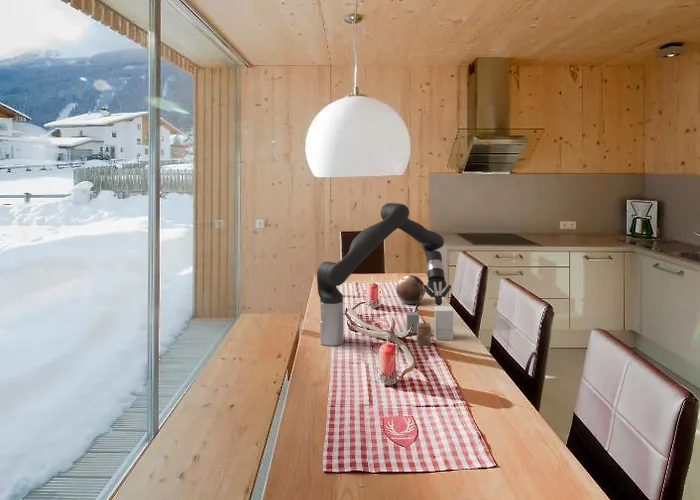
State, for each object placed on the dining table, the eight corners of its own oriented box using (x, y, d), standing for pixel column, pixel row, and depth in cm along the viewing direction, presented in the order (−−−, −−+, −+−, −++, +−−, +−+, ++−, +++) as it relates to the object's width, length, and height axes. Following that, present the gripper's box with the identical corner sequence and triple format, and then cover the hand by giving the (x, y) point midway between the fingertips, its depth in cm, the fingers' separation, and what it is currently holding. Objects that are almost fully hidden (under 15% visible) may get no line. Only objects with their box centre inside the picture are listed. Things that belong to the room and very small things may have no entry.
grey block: (407, 333, 228) (407, 314, 227) (406, 329, 233) (406, 311, 232) (419, 332, 228) (419, 314, 227) (417, 329, 233) (418, 311, 231)
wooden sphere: (390, 302, 281) (390, 274, 278) (414, 298, 288) (414, 271, 285) (406, 308, 268) (406, 279, 265) (430, 304, 275) (431, 276, 272)
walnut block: (418, 345, 211) (418, 326, 210) (416, 341, 216) (417, 322, 215) (430, 345, 211) (430, 326, 210) (429, 341, 216) (429, 322, 215)
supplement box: (451, 334, 224) (451, 305, 222) (453, 340, 217) (453, 310, 215) (433, 334, 225) (434, 305, 223) (434, 340, 218) (435, 310, 216)
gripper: (421, 267, 240) (424, 300, 230) (451, 267, 240) (455, 299, 229) (420, 276, 246) (423, 308, 236) (449, 276, 246) (452, 308, 235)
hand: (438, 304), depth 233 cm, fingers closed
